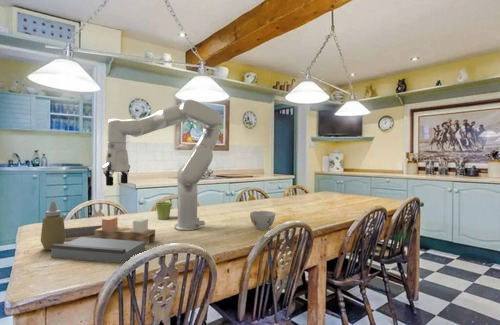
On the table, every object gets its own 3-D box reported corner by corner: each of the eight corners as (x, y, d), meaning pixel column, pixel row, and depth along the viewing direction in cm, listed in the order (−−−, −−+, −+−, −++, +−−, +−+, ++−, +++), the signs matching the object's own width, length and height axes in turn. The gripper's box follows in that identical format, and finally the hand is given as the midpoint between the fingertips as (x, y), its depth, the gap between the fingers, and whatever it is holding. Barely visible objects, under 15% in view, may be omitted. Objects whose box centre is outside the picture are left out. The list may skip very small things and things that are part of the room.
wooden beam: (155, 241, 121) (155, 229, 121) (147, 245, 115) (147, 233, 115) (104, 237, 125) (104, 226, 125) (94, 241, 119) (94, 230, 119)
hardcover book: (107, 237, 126) (107, 232, 126) (43, 245, 115) (43, 239, 115) (106, 229, 140) (106, 224, 140) (49, 234, 130) (49, 229, 130)
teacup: (280, 229, 142) (280, 213, 141) (262, 233, 133) (262, 216, 133) (259, 223, 153) (259, 208, 153) (241, 227, 145) (241, 211, 145)
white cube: (147, 229, 121) (147, 219, 120) (142, 232, 116) (142, 221, 116) (139, 229, 121) (139, 218, 121) (133, 232, 117) (133, 221, 117)
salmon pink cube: (117, 227, 123) (117, 217, 123) (110, 230, 119) (110, 219, 119) (109, 227, 124) (109, 216, 124) (102, 230, 119) (102, 219, 119)
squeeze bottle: (48, 244, 114) (48, 199, 113) (70, 244, 115) (69, 199, 114) (35, 251, 106) (34, 203, 105) (58, 251, 107) (58, 203, 106)
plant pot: (165, 215, 169) (165, 201, 169) (175, 218, 163) (175, 203, 163) (151, 218, 161) (151, 203, 161) (162, 221, 156) (162, 205, 155)
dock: (145, 249, 110) (145, 238, 110) (122, 262, 96) (122, 250, 96) (81, 244, 115) (81, 234, 115) (51, 256, 101) (51, 244, 101)
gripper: (110, 146, 120) (111, 186, 121) (136, 147, 137) (136, 182, 138) (95, 146, 122) (95, 186, 123) (122, 147, 139) (122, 182, 139)
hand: (117, 184), depth 130 cm, fingers open, 9 cm apart
